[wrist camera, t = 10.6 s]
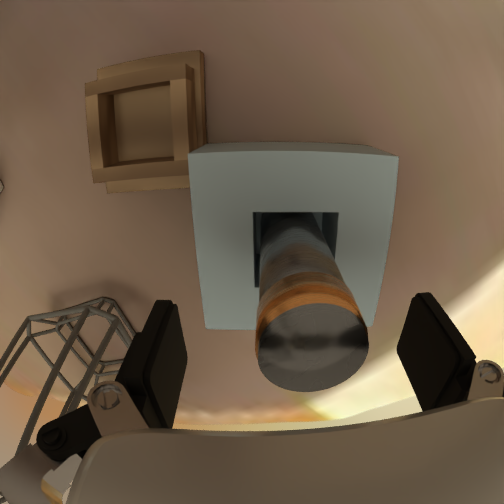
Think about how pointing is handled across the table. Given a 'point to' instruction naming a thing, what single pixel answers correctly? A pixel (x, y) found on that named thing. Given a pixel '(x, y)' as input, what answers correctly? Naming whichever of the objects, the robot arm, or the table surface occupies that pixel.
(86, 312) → the geometric lantern
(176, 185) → the mount
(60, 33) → the table surface
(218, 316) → the socket
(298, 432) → the robot arm
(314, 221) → the pin
